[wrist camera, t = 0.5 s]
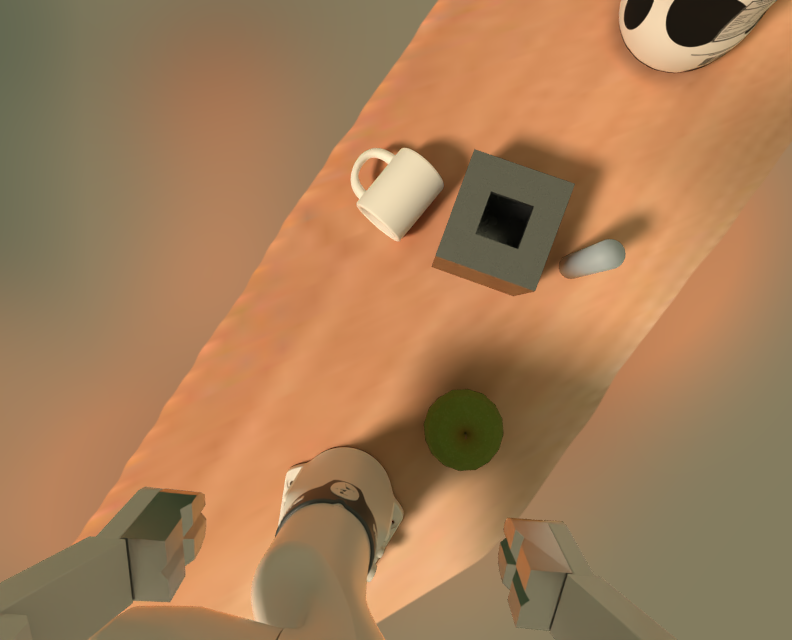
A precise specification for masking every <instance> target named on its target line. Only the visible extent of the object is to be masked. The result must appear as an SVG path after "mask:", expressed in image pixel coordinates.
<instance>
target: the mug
mask: <svg viewBox="0 0 792 640" xmlns="http://www.w3.org/2000/svg"><path fill="white" fill-rule="evenodd" d="M370 158H378V159H381V160H383V161H385V162H386V163H388V165H387V167H386V168H385V169H384V170H383V171H382V173H381V174H380V175H379V176H378V177H377V179H376V180H375V181H374V182H373V184H372V185H371V186H370V187H369V188H368V190H367V191H366V190H365V189H364V188H363V186H362V185H361V183H360V181H359V177H358V174H359V171H360V169H361V167H362V166H363V164H364V163H365V162H366V161H367V160H368V159H370ZM351 186H352V189H353V191H354V193H355V194H356V196H357V197H358V198H359V201H358V202H357V204H356V205H357V207H358V209H359V210H360V211H361V212H362V213H363V215H364V216H365V217H366V218H367V219H368V220H369V221H371V222H372V223H373V224H374V225H375V226H376V227H377V228H378V229H380V230H381V231H382V232H383V233H385V234H386V235H387V236H389V237H390V238H392V239H393V240H395V241H400V240H401V239H402V238H403V237H404V235H405V234H406V233H407V232H408V231H409V229H410V228H411V227H412V226H413V225H414V223H415V222H416V221H417V220H418V218H419V217H420V216H421V215H422V214H423V212H424V211H425V210H426V209H427V208H428V206H429V205H430V204H431V203H432V202H433V200H434V199H435V198H436V197H437V196H438V194H439V193H440V192H441V191H442V190H443V188H444V183H443V180H442V178H441V176H440V175H439V173H438V172H437V171H436V169H435V168H434V167H433V166H432V165H431V164H430V163H429V162H428V161H427V160H426V159H425V158H424V157H422V156H421V155H420V154H418V153H417V152H415V151H413V150H411V149H409V148H402V149H400V151H399V152H398V153H397V154H396V155H394V154H393V153H391V152H389V151H387V150H385V149H381V148H372V149H369V150H367V151H365V152H364V153H362V154H361V155H360V156H359V158H358V159H357V161H356V162H355V164H354V166H353V169H352V173H351Z"/></svg>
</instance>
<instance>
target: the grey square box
mask: <svg viewBox="0 0 792 640" xmlns="http://www.w3.org/2000/svg"><path fill="white" fill-rule="evenodd" d="M574 185H575V184H574V183H571V182H568V181H565V180H562V179H559V178H556V177H554V176H551V175H548V174H545V173H542V172H539V171H536V170H533V169H530V168H527V167H524V166H522V165H519V164H516V163H513V162H510V161H507V160H504V159H501V158H498V157H495V156H492V155H489V154H487V153H484V152H481V151H478V150H475V149H474V152H473V155H472V158H471V160H470V163H469V166H468V169H467V171H466V174H465V177H464V179H463V182H462V185H461V188H460V190H459V193H458V196H457V199H456V201H455V204H454V207H453V210H452V212H451V215H450V218H449V220H448V223H447V226H446V229H445V231H444V234H443V237H442V240H441V242H440V245H439V248H438V251H437V253H436V256H435V259H434V262H433V264H432V267H433V268H436V269H439V270H442V271H445V272H447V273H450V274H453V275H456V276H459V277H461V278H464V279H467V280H470V281H473V282H475V283H478V284H481V285H484V286H487V287H489V288H492V289H495V290H498V291H501V292H503V293H506V294H509V295H512V296H516V295H521V294H525V293H530V292H534V291H535V290H536V287H537V285H538V282H539V279H540V277H541V274H542V271H543V268H544V266H545V263H546V260H547V258H548V255H549V252H550V250H551V247H552V244H553V242H554V239H555V236H556V234H557V231H558V228H559V226H560V223H561V220H562V217H563V215H564V212H565V209H566V207H567V204H568V201H569V199H570V196H571V193H572V191H573V188H574Z"/></svg>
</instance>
